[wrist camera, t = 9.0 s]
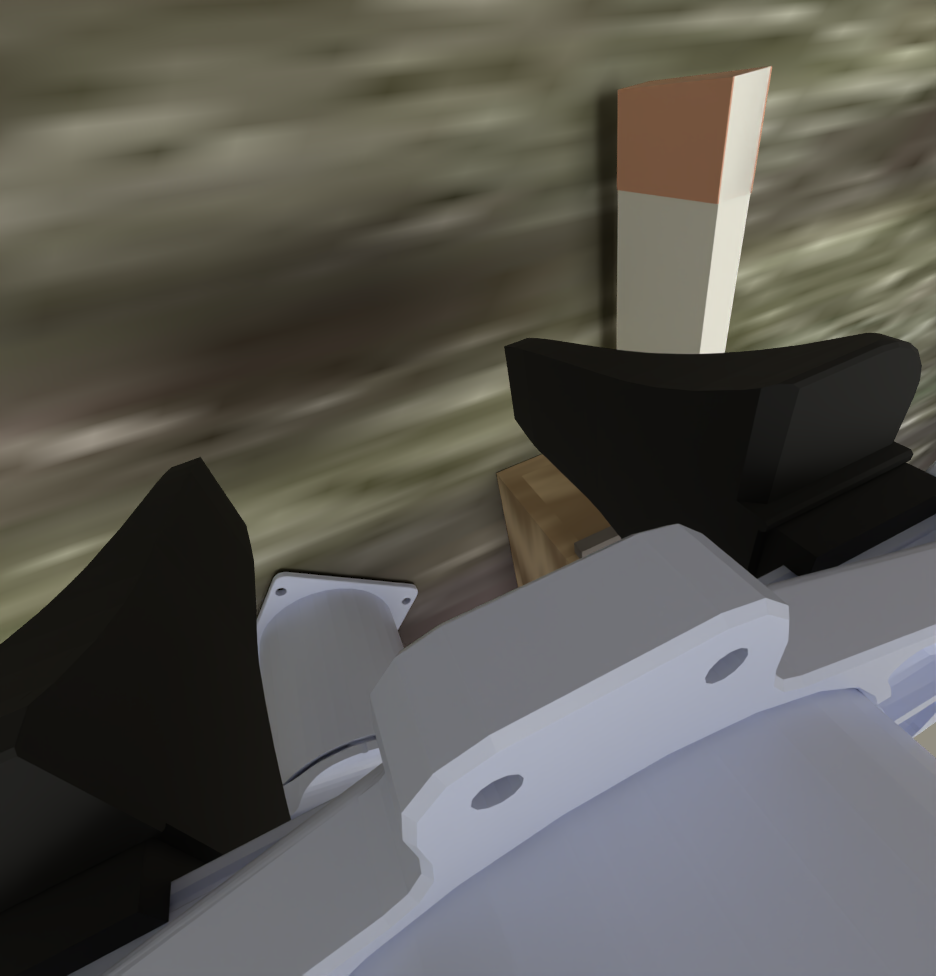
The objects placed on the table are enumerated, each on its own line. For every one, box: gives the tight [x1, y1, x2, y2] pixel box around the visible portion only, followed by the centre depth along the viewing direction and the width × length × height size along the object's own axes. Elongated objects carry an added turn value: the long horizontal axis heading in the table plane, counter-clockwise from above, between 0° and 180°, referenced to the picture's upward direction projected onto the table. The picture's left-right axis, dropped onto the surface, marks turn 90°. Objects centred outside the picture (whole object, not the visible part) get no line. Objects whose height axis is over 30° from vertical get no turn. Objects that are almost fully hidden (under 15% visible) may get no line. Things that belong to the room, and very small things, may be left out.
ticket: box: [617, 66, 772, 354], centre depth 21 cm, size 19×1×5 cm, turn 11°
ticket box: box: [496, 454, 621, 588], centre depth 29 cm, size 15×14×8 cm
